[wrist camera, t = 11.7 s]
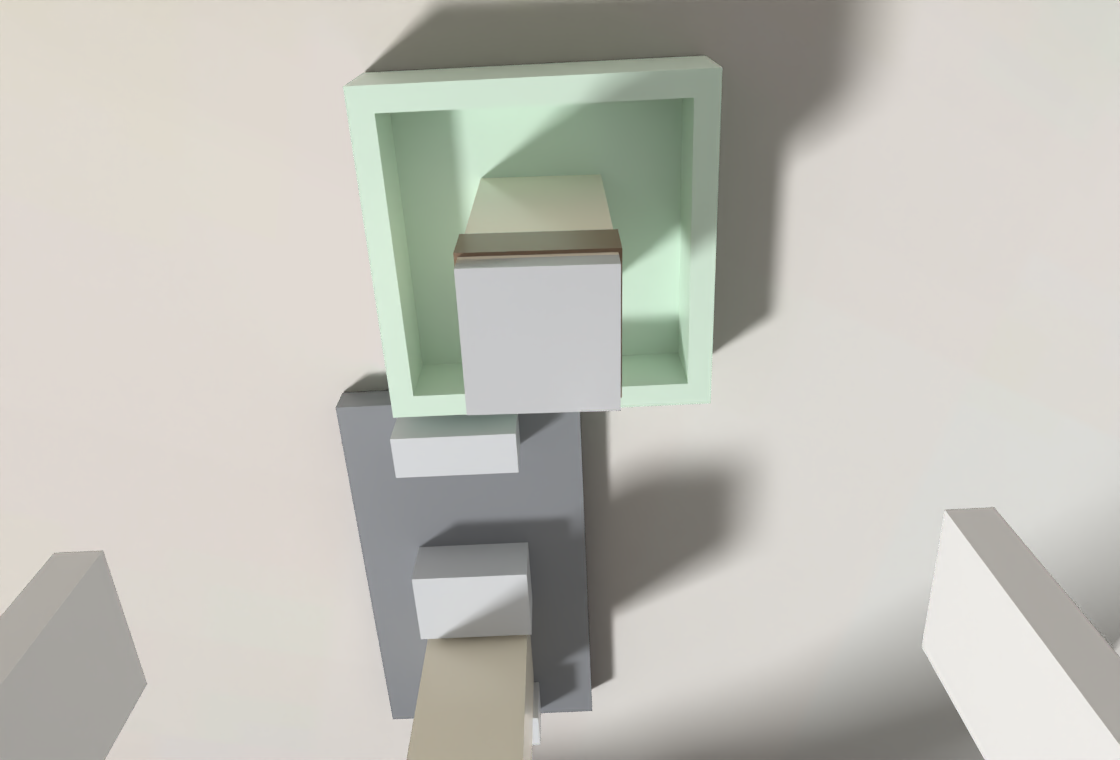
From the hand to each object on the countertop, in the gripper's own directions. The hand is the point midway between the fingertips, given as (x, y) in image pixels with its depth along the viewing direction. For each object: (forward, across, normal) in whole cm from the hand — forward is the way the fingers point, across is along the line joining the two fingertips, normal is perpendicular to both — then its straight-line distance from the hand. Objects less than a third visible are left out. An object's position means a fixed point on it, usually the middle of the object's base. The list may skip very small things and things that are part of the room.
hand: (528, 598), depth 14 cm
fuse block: (+19, +3, +13) cm, 23 cm away
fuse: (+18, +3, +17) cm, 25 cm away
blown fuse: (+18, 0, -1) cm, 18 cm away
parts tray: (+19, 0, -1) cm, 19 cm away
